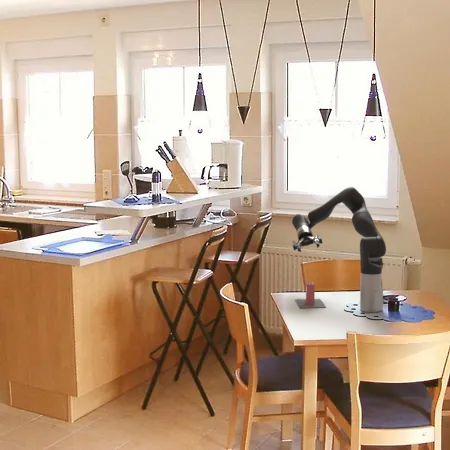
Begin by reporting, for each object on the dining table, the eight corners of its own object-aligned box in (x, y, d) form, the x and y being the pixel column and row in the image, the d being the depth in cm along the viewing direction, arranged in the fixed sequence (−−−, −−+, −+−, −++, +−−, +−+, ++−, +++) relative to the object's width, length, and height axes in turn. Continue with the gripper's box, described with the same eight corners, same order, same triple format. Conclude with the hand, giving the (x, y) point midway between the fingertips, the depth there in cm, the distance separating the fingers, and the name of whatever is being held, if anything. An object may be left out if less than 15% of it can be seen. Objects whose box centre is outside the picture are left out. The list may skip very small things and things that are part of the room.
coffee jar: (360, 294, 374) (361, 257, 371) (364, 291, 381) (365, 254, 378) (380, 296, 370) (380, 258, 367) (384, 293, 377) (384, 256, 374)
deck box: (305, 301, 361) (305, 281, 359) (313, 301, 361) (313, 281, 359) (306, 304, 354) (306, 284, 353) (314, 304, 354) (314, 284, 353)
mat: (295, 300, 365) (295, 299, 365) (320, 299, 366) (320, 298, 366) (300, 308, 349) (300, 307, 349) (326, 307, 350) (326, 306, 350)
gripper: (289, 232, 377) (292, 244, 362) (317, 225, 376) (321, 237, 361) (292, 245, 380) (296, 258, 365) (320, 238, 379) (325, 251, 364)
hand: (308, 248), depth 363 cm, fingers open, 8 cm apart
